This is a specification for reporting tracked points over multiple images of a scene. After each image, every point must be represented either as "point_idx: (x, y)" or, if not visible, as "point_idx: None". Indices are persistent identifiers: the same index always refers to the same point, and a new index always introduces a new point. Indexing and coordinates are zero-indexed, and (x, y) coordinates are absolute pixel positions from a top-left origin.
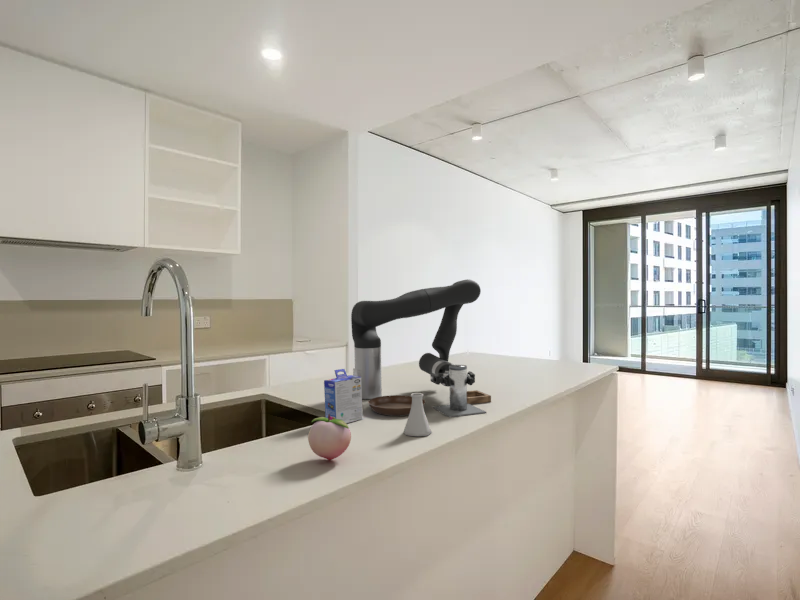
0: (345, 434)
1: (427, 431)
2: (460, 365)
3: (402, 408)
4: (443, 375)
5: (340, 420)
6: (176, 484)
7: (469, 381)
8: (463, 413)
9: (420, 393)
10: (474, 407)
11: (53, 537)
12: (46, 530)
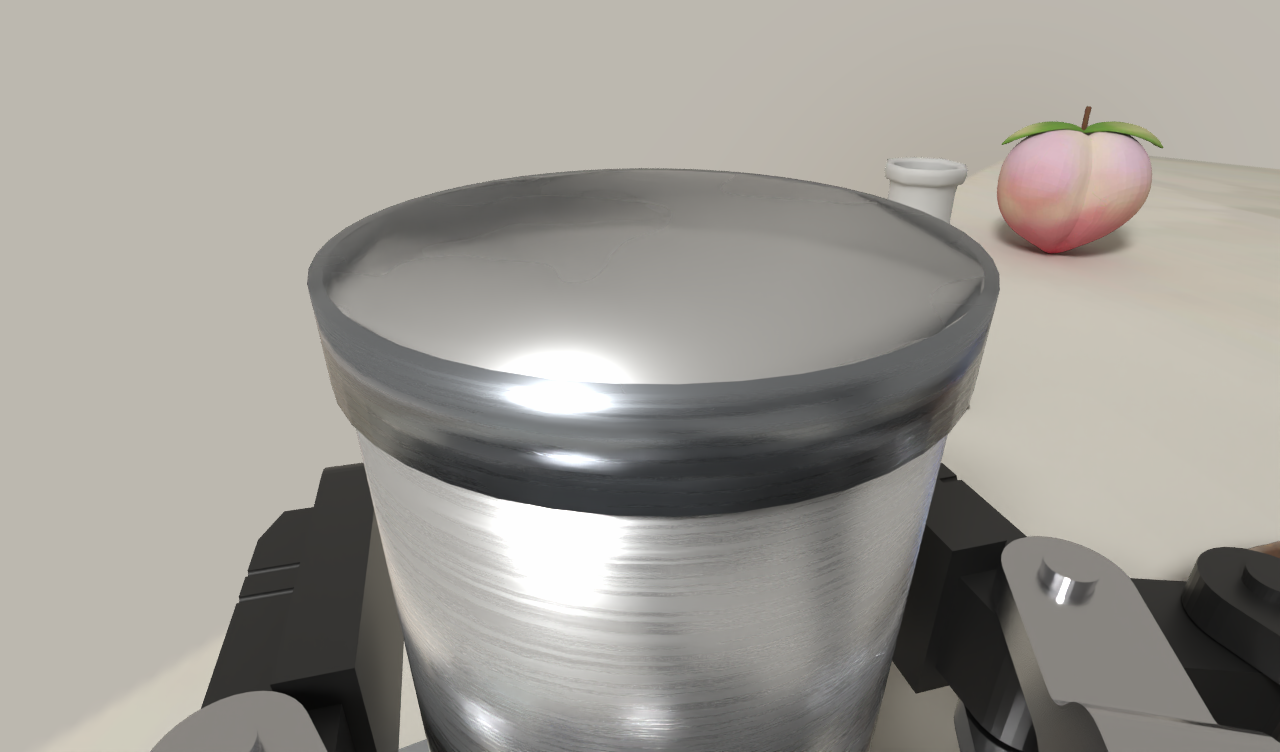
0: (1004, 161)
1: None
2: (544, 265)
3: (1258, 547)
4: (1184, 691)
5: (1041, 124)
6: (1264, 208)
7: None
8: None
9: (914, 169)
10: None
11: (1197, 167)
12: (1234, 170)
